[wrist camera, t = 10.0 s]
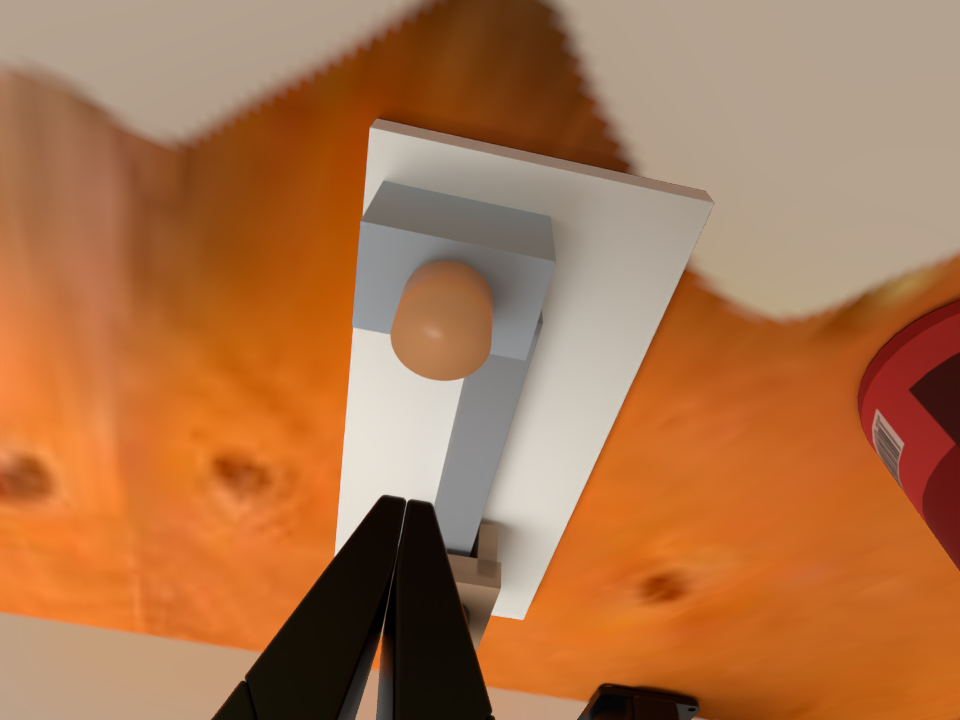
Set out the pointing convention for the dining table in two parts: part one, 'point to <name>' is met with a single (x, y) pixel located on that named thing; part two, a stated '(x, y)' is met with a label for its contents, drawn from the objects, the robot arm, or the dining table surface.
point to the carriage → (477, 580)
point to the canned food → (920, 418)
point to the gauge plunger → (444, 321)
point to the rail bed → (568, 354)
